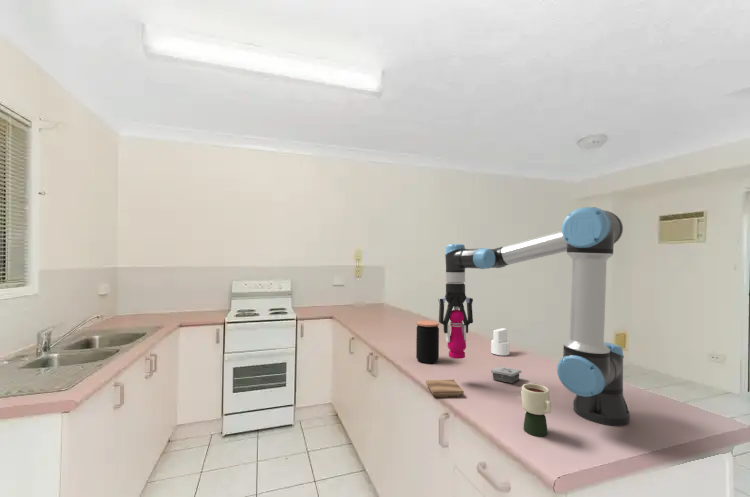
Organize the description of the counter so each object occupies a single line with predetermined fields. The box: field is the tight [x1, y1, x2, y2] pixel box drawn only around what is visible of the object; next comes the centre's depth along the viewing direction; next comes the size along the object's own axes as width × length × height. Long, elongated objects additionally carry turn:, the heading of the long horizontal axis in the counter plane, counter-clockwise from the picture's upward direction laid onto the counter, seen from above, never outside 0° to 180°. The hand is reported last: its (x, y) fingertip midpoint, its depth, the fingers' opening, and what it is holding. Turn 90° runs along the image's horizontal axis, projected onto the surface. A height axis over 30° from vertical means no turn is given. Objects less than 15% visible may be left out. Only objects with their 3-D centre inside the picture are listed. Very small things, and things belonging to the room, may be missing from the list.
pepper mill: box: [446, 306, 467, 360], centre depth 136 cm, size 7×7×20 cm
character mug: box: [521, 383, 552, 437], centre depth 98 cm, size 11×7×13 cm, turn 17°
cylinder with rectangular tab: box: [490, 327, 511, 356], centre depth 178 cm, size 9×9×12 cm
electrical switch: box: [490, 365, 522, 384], centre depth 140 cm, size 9×5×9 cm
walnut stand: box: [425, 379, 465, 398], centre depth 126 cm, size 11×11×2 cm
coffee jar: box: [415, 320, 440, 364], centre depth 165 cm, size 11×11×18 cm
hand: (456, 341), depth 136 cm, fingers closed on pepper mill, 6 cm apart
